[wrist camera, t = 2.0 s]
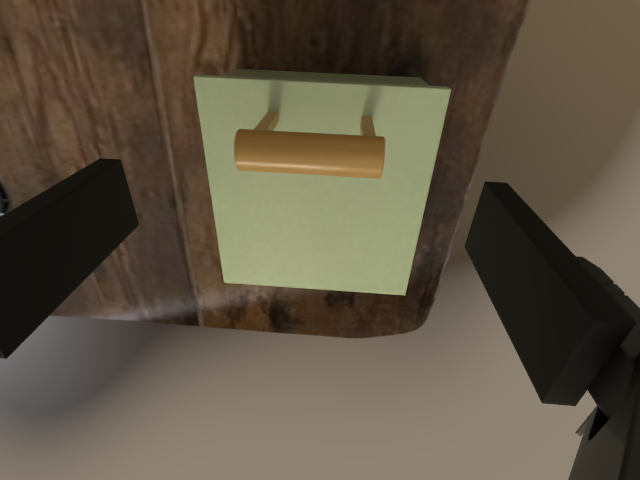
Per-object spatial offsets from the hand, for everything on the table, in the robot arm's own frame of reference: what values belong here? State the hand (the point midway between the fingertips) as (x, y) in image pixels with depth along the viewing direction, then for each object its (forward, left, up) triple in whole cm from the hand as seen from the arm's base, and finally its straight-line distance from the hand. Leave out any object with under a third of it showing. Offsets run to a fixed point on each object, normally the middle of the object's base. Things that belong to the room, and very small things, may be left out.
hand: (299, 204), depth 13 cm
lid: (+6, 0, -12) cm, 14 cm away
